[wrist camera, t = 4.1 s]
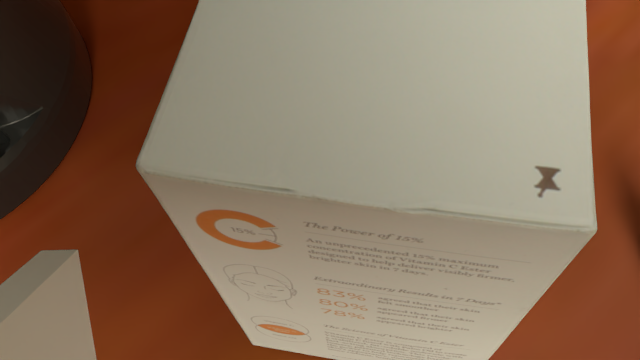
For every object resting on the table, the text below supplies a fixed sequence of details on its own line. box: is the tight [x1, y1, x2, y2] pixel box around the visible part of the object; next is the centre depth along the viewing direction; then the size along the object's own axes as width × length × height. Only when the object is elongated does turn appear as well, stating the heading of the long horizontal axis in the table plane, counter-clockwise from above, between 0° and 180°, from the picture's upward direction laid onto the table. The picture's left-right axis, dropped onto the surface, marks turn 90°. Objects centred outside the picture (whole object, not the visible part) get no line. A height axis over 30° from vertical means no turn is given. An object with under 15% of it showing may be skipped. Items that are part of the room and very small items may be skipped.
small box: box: [136, 0, 597, 360], centre depth 17 cm, size 8×6×13 cm
